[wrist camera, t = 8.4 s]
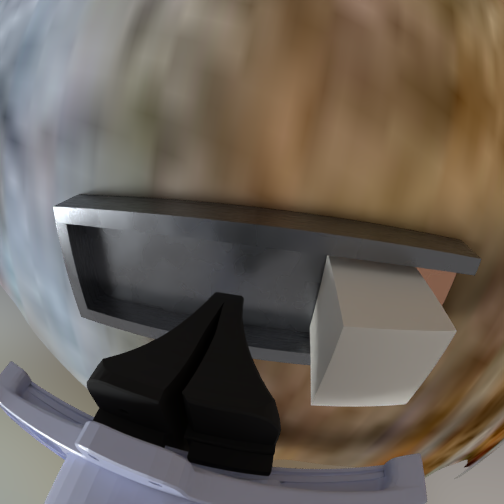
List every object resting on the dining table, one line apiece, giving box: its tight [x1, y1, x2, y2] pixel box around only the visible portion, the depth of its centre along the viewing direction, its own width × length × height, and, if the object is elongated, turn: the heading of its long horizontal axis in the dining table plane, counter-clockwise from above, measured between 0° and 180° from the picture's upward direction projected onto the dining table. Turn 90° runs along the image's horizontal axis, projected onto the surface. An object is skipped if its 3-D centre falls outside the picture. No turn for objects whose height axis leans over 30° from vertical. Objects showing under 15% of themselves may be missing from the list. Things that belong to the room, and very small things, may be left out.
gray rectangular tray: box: [53, 195, 481, 365], centre depth 14 cm, size 8×24×2 cm, turn 86°
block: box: [310, 255, 457, 406], centre depth 12 cm, size 5×5×6 cm
